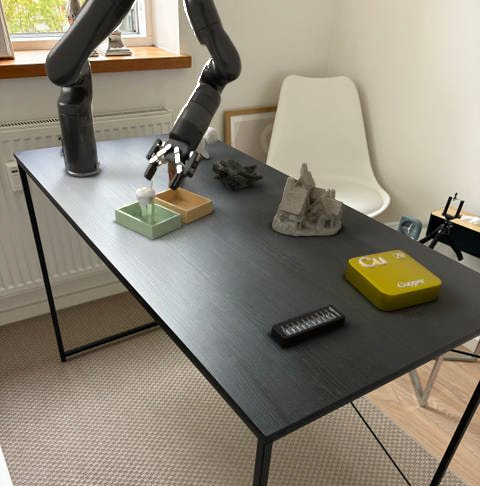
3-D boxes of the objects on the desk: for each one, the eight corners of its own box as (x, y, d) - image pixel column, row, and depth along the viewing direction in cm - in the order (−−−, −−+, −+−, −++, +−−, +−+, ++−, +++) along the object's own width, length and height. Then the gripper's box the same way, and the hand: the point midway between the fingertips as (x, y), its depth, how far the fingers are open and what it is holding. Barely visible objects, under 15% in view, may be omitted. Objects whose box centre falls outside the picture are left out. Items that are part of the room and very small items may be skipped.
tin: (178, 193, 138) (177, 164, 133) (167, 192, 138) (166, 163, 133) (184, 173, 150) (184, 146, 145) (174, 173, 150) (173, 145, 145)
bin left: (115, 221, 122) (114, 209, 120) (144, 210, 128) (144, 198, 126) (152, 239, 116) (151, 226, 114) (181, 226, 122) (181, 214, 120)
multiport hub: (269, 335, 90) (270, 325, 89) (329, 313, 96) (331, 303, 95) (283, 348, 87) (285, 338, 86) (344, 325, 94) (346, 316, 92)
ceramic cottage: (262, 224, 125) (273, 168, 116) (298, 208, 136) (310, 155, 127) (313, 249, 118) (328, 191, 109) (346, 230, 129) (362, 176, 120)
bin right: (150, 207, 130) (150, 196, 128) (176, 197, 136) (176, 186, 134) (186, 223, 124) (186, 211, 122) (212, 212, 130) (212, 200, 128)
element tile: (382, 313, 97) (387, 293, 95) (341, 275, 108) (345, 256, 105) (440, 299, 103) (447, 280, 100) (395, 264, 113) (400, 246, 111)
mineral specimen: (244, 182, 134) (236, 146, 133) (207, 196, 140) (199, 161, 139) (269, 185, 146) (261, 152, 145) (233, 197, 153) (226, 165, 152)
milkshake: (162, 221, 123) (160, 182, 117) (150, 229, 119) (147, 190, 113) (146, 216, 125) (144, 178, 119) (134, 224, 121) (131, 186, 115)
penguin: (186, 170, 161) (226, 149, 163) (177, 146, 155) (218, 125, 157) (177, 161, 167) (215, 141, 169) (168, 138, 161) (207, 118, 163)
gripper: (162, 110, 120) (130, 168, 119) (205, 123, 113) (171, 184, 113) (177, 128, 126) (147, 183, 126) (219, 142, 120) (187, 199, 119)
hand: (159, 183), depth 119 cm, fingers open, 8 cm apart
